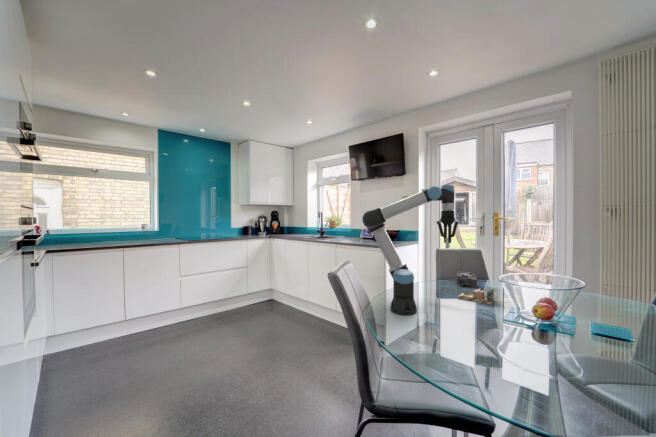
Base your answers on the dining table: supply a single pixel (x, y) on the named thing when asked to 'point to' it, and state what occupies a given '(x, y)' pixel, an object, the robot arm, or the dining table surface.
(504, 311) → the dining table surface
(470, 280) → the camera
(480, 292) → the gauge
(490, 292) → the scale board
